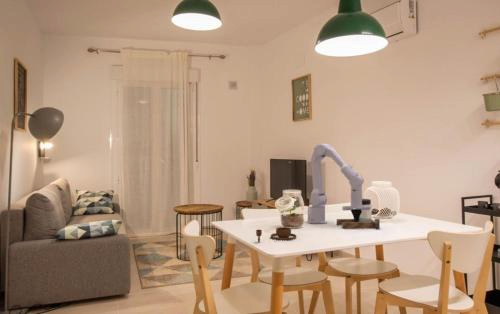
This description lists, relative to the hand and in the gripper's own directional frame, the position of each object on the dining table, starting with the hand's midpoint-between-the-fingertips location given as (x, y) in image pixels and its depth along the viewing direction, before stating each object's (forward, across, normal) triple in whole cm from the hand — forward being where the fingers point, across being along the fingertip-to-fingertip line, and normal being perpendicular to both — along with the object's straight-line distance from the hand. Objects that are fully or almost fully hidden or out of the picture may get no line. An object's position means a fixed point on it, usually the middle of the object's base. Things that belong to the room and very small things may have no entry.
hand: (356, 223), depth 219 cm
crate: (+1, +4, 0) cm, 5 cm away
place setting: (+2, -46, -26) cm, 53 cm away
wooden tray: (+1, 0, -1) cm, 2 cm away
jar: (+2, +10, +18) cm, 21 cm away
